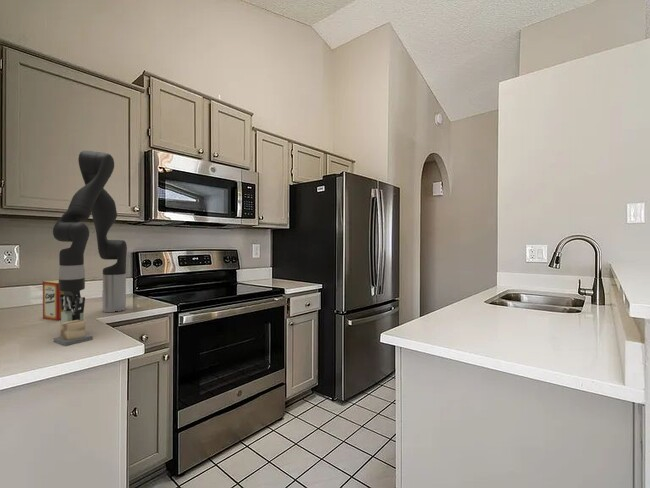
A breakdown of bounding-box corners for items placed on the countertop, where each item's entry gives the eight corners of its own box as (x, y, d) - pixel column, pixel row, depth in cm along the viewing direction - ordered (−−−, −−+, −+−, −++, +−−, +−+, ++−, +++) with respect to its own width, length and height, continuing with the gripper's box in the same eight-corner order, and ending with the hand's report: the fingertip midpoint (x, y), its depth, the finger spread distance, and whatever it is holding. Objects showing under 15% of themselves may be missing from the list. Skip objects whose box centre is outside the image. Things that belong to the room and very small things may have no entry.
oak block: (60, 337, 110) (60, 322, 110) (77, 333, 115) (77, 319, 114) (68, 340, 108) (68, 325, 108) (85, 336, 112) (85, 321, 112)
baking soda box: (74, 317, 142) (74, 280, 141) (57, 320, 135) (57, 282, 135) (60, 315, 145) (59, 278, 144) (42, 318, 139) (42, 280, 138)
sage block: (61, 325, 119) (61, 312, 119) (77, 322, 123) (77, 309, 123) (67, 328, 117) (67, 314, 116) (83, 324, 121) (83, 311, 121)
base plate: (53, 341, 110) (53, 338, 110) (80, 335, 117) (80, 332, 117) (65, 345, 106) (64, 342, 106) (92, 339, 113) (92, 335, 113)
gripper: (93, 277, 119) (93, 324, 120) (74, 274, 126) (74, 318, 127) (69, 280, 112) (69, 329, 113) (50, 276, 120) (51, 322, 120)
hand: (72, 323), depth 120 cm, fingers closed on sage block, 5 cm apart
